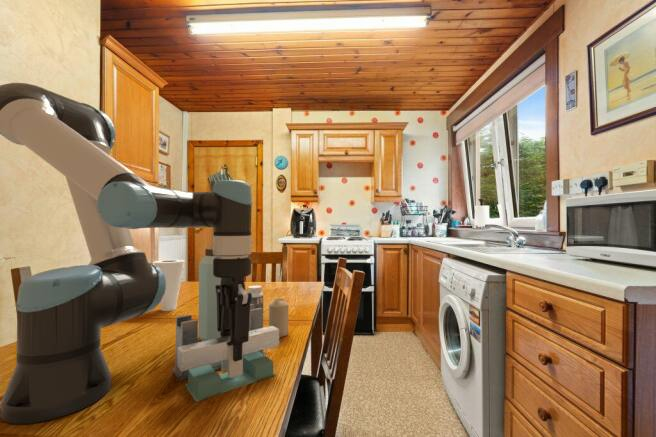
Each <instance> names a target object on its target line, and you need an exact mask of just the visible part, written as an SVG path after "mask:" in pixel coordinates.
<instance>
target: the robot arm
mask: <svg viewBox="0 0 656 437" xmlns="http://www.w3.org/2000/svg"><path fill="white" fill-rule="evenodd" d="M116 134H117V133H116V129H115V126H114V123H113V121H112V120H111V118H110V117H109V116H108V115H107V114H106V113H105V112H103V111H102V110H100V109H99V108H95V107H94V106H92V105H90V104H87V103H85V102H79V101H78V100H77V101H76V100H74V99H71V98H69V97H66V96H65V95H64V96H63V95H61V94H58V93H56V92H53V91H51V90H48V89H47V88H43V87H42V86H38V85H35V84H31V83H25V82H8V83H4V84H1V85H0V135H1V136H2V137H3V138H5V139H7V140H8V141H9V142H11V143H13V144H17V145H20V146H25V147H26V148H28V150H30V151H31V152H33V153H34V154H35V155H37V156H38V157H39V158H40V159H42V160H43V161H44V162H46V163H47V164H49V165H50V166H51V167H53V168H54V169H55V170H56V171H57V172H59V173H61V174H62V175H63V176H65V179H66V182H67V186H68V188H69V191H70V192H69V193H70V195H71V198H72V199H71V200H72V202H73V204H74V205H73V206H74V208H75V210H76V214H77V217H78V218H77V219H78V221H79V223H80V226H81V229H82V230H81V231H82V233H83V234H82V235H83V237H84V239H85V243H86V246H87V249H88V252H89V256H90V258H91V259H90V262H89V263H88V264H84V265H83V264H82V265H73V266H69V267H58V268H54V269H49V270H44V271H41V272H38V273H35V274H32V275H30V276H28V277H26V278H25V279H24V280H23V281H21V283H20V285H18V286H19V287H18V292H17V300H16V303H15V308H16V310H17V311H16V313H17V314H16V315H17V316H16V364H15V368H14V370H13V373H12V374H11V377H10V380H9V382H8V384H7V387H6V390H5V391H4V394H3V397H2V399H1V402H0V419H1V420H2V421H3V422H6V423H8V424H13V425H14V424H15V425H22V424H23V425H26V424H35V423H41V422H46V421H51V420H54V419H58V418H61V417H65V416H67V415H70V414H73V413H75V412H78V411H80V410H83V409H85V408H87V407H88V406H91V405H92V404H95V403H96V402H98V401H99V400H100V399H102V398H103V397H105V395H107V394H108V393H109V391H110V390H111V388H112V387H111V386H112V374H111V373H112V372H111V371H110V368H109V366H108V363H107V361H106V358H105V356H104V353H103V351H102V349H101V335H102V334H101V331H102V330H101V329H103V328H105V327H110V326H112V325H115V324H119V323H121V322H124V321H128V320H129V319H133V318H134V319H135V318H138V317H140V316H143V315H144V314H146V313H149V312H151V311H153V310H154V309H155V308H156V307H158V306H159V304H160V302H161V300H162V297H163V295H164V293H165V289H166V280H165V276H164V273H163V271H162V270H161V268H160V267H157V266H156V265H155V264H153V262H152V263H151V262H149V261H148V258H147V255H146V252H145V251H143V250H141V249H139V248H137V247H136V245H135V243H134V240H133V236H132V233H131V230H137V229H151V228H152V229H156V228H157V229H160V228H163V229H165V228H167V229H168V228H169V229H170V228H171V229H172V228H175V229H186V228H212V232H213V235H212V248H213V255H215V256H216V258H214V260H213V275H214V276H215V277H218V278H221V284H218V285H216V287H215V288H216V295H217V330H218V332H219V331H220V335H221V337H225V336H229V335H230V342H227V346H228V359H227V360H223V361H221V369H220V370H221V371H222V372H225V371H226V372H228V377H229V378H232V377H235V376H239V375H242V374H243V343H244V342H248V340H249V316H250V302H251V298H252V294H251V293H249V292H247V291H246V284H245V277H248V276H250V275H251V274H252V258H251V257H250V256H249V255H251V254H252V244H253V242H254V241H253V239H252V206H253V202H252V200H253V199H252V187H251V185H250V183H248V182H246V181H243V180H238V179H237V180H235V179H222V180H215V181H214V183H213V188H212V191H211V190H210V191H186V190H179V189H174V188H173V189H172V188H167V187H162V186H161V187H160V186H155V185H152V184H150V183H149V182H147V181H145V180H144V179H143V178H141V177H140V176H138V175H137V174H136V173H134V171H131V169H129V168H127V167H126V166H125V165H123V164H122V163H121V162H120V161H118V160H116V158H114V157H112V156H111V153H112V152H111V150H112V149H113V147H114V145H115V141H114V139H116Z"/></svg>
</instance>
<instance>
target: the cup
mask: <svg viewBox="0 0 656 437" xmlns="http://www.w3.org/2000/svg"><path fill="white" fill-rule="evenodd" d="M185 261H186V260H185V259H161V260H154V261H153V262H152V264H155V265H156V266H157V267H160V268H161V270H162V271H163V273H164V276H165V280H166V289H165V293H164V295H163V297H162V300H161V302H160V303H159V304H160V309H161V311H162V312H171V311H175V310H177V305H178V299H179V292H180V288H181V283H182V277H183V272H184V269H185V268H184V266H185V263H186V262H185Z"/></svg>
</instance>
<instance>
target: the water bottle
mask: <svg viewBox="0 0 656 437" xmlns="http://www.w3.org/2000/svg"><path fill="white" fill-rule="evenodd" d="M214 258H216V256H215V255H213V247H207V248H205V256H203V258H201V260H200V262H198V338H199V340H200V342H202V341H207V340H211V339H216V338H220V337H221V335H220V331H219V332H218V330H217V295H216V288H215V287H216V285H218V284H221V278H218V277H215V276H214V275H213V260H214Z"/></svg>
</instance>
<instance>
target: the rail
mask: <svg viewBox="0 0 656 437" xmlns="http://www.w3.org/2000/svg"><path fill="white" fill-rule="evenodd" d="M227 342H230V335H229V336H225V337H220V338H216V339H211V340H207V341H198V343H194V344H189V345H185V346H180V347H178V353H177V366H178V367H179V369H180V370H181V372H182V371H186V370H190V369H193V368H197V367H201V366H204V365H208V364H212V363H215V362H219V361H223V360H227V359H228V346H227ZM278 346H280V337H279V329H278V328H276V327H274V326H269V325H268V326H266V327H263V328H260V329H256V330H251V331H249V340H248V342H244V343H243V355H245V354H249V353H252V352H256V351H260V350H263V351H264V350H267V349H270V348H274V347H278Z"/></svg>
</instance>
